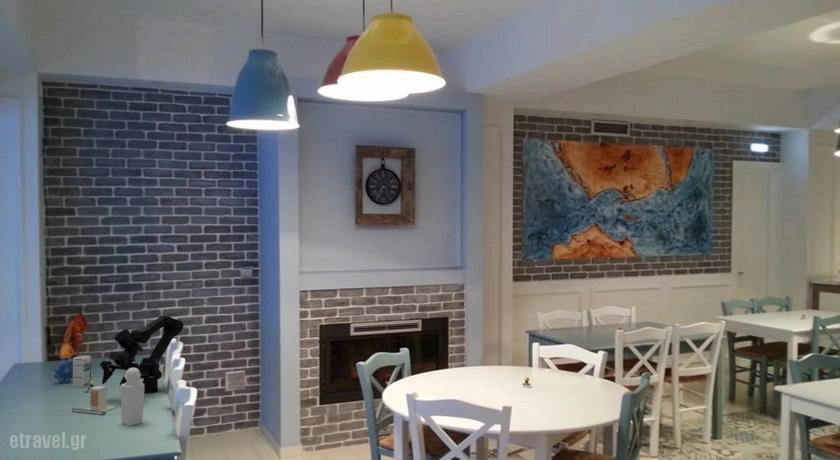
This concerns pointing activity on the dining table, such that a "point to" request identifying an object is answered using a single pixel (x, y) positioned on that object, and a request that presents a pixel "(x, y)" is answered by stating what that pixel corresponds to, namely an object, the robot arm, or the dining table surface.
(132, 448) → the dining table surface
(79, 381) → the syrup box
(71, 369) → the grapes
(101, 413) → the rail
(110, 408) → the pad
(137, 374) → the grey bottle
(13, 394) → the dining table surface
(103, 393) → the carton
